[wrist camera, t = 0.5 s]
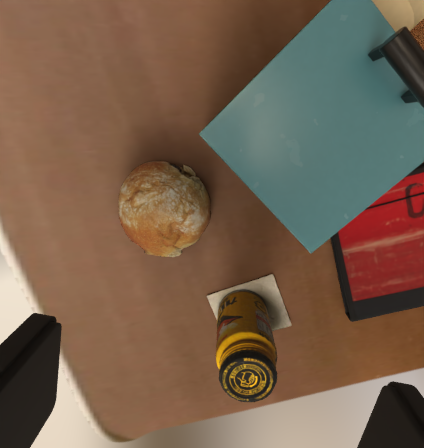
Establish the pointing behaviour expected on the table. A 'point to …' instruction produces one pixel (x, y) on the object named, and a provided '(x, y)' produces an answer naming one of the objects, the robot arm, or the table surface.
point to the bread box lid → (328, 121)
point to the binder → (384, 252)
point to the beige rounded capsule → (401, 12)
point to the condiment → (248, 337)
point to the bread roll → (163, 208)
